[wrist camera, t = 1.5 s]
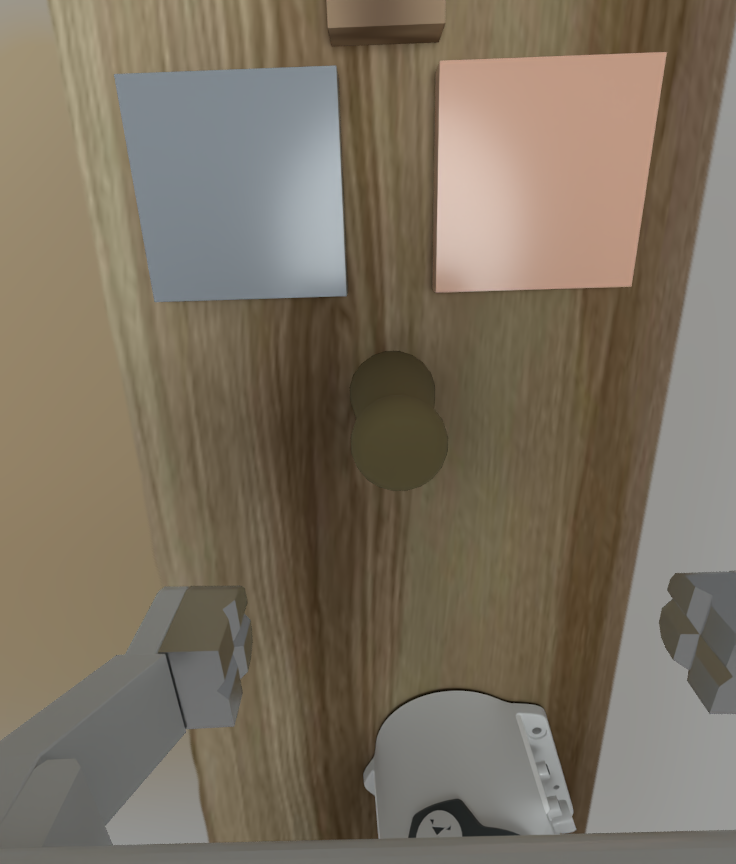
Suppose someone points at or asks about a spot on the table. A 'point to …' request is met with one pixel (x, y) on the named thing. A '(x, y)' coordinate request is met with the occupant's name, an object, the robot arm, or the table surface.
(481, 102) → the terracotta tile
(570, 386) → the table surface
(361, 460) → the olive rounded tall piece
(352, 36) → the walnut brick
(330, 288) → the steel tile
